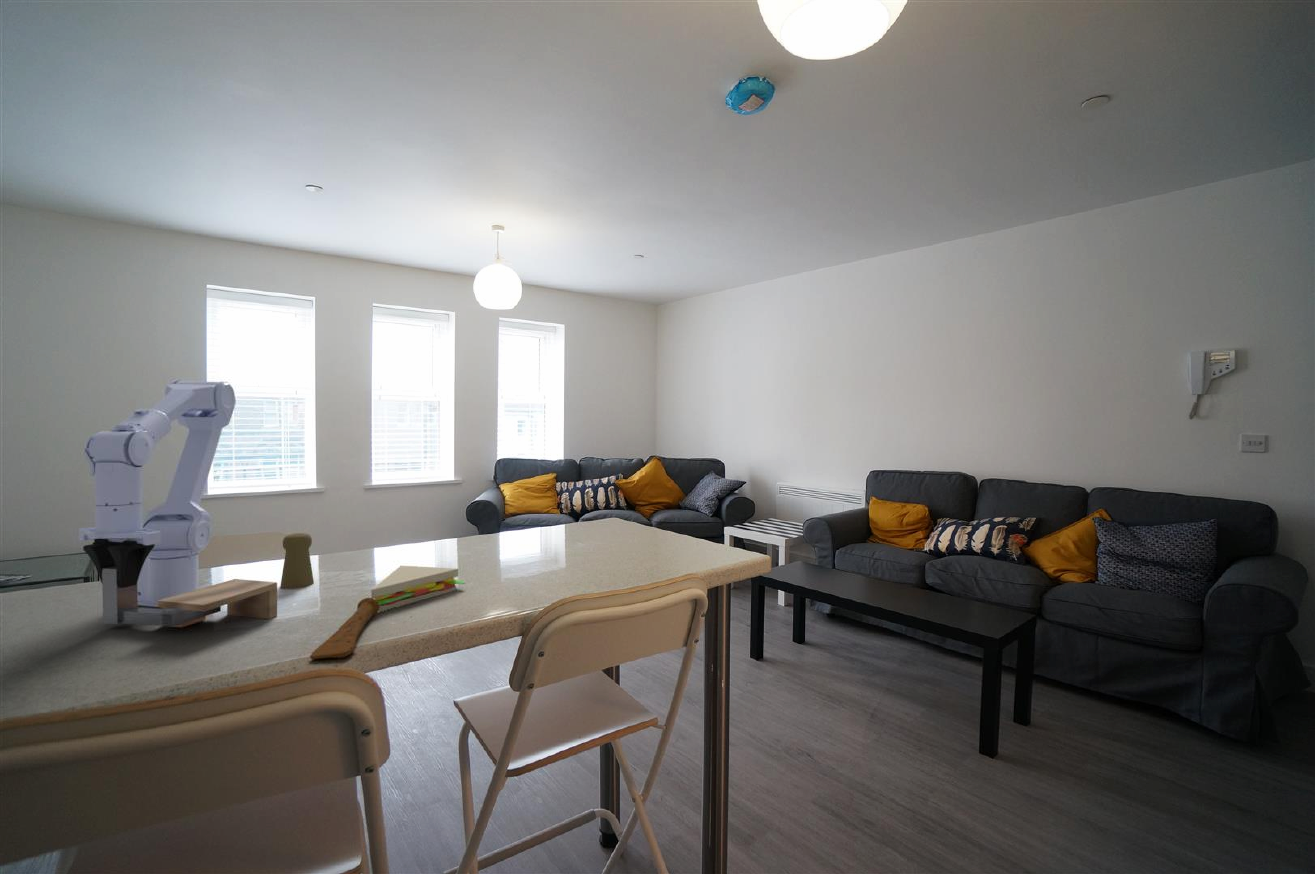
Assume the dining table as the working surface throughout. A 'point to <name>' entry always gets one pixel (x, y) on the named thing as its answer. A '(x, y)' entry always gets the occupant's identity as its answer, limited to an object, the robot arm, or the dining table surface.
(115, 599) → the grey angled block
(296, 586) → the cork
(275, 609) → the cubby
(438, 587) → the sandwich
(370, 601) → the primitive tool
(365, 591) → the dining table surface
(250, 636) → the dining table surface
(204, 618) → the cube
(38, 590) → the dining table surface
